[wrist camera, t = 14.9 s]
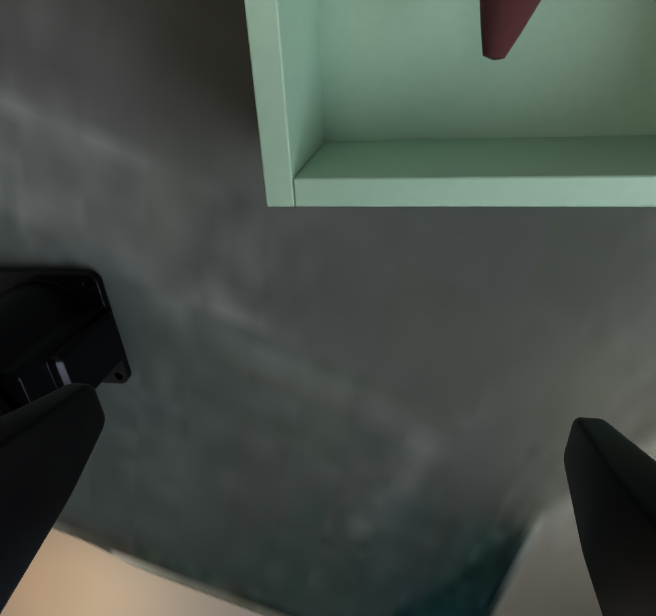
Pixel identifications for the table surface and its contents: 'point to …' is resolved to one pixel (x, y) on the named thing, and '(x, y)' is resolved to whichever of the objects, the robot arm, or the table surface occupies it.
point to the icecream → (503, 24)
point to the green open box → (454, 104)
